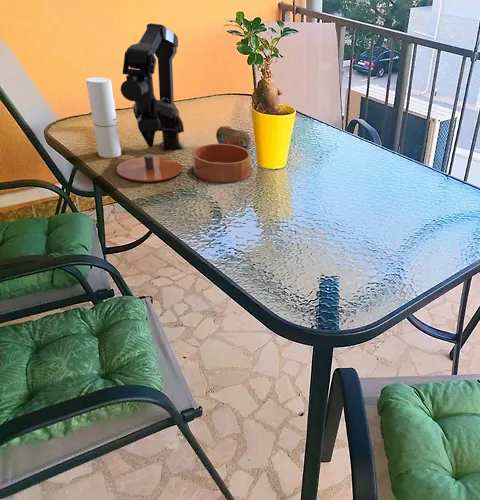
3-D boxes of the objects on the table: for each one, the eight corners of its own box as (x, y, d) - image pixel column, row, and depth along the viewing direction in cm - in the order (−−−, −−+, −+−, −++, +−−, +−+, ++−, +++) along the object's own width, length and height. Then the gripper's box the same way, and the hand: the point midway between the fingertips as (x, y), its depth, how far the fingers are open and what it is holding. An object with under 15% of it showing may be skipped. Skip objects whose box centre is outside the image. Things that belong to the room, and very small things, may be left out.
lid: (115, 161, 157) (112, 146, 154) (176, 158, 165) (175, 144, 163) (119, 185, 142) (116, 170, 140) (186, 180, 151) (185, 166, 148)
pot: (189, 162, 164) (188, 144, 160) (242, 159, 172) (242, 142, 168) (200, 184, 150) (199, 165, 146) (256, 180, 158) (257, 162, 155)
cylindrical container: (125, 152, 164) (115, 79, 151) (114, 158, 158) (103, 83, 145) (105, 149, 165) (94, 75, 152) (94, 155, 158) (81, 80, 145)
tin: (215, 145, 181) (215, 124, 176) (221, 143, 183) (220, 122, 179) (246, 155, 176) (247, 134, 171) (252, 153, 178) (252, 132, 174)
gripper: (176, 101, 138) (180, 151, 146) (167, 85, 151) (171, 131, 160) (135, 101, 133) (141, 153, 141) (130, 84, 147) (135, 132, 155)
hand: (149, 142), depth 149 cm, fingers open, 9 cm apart
